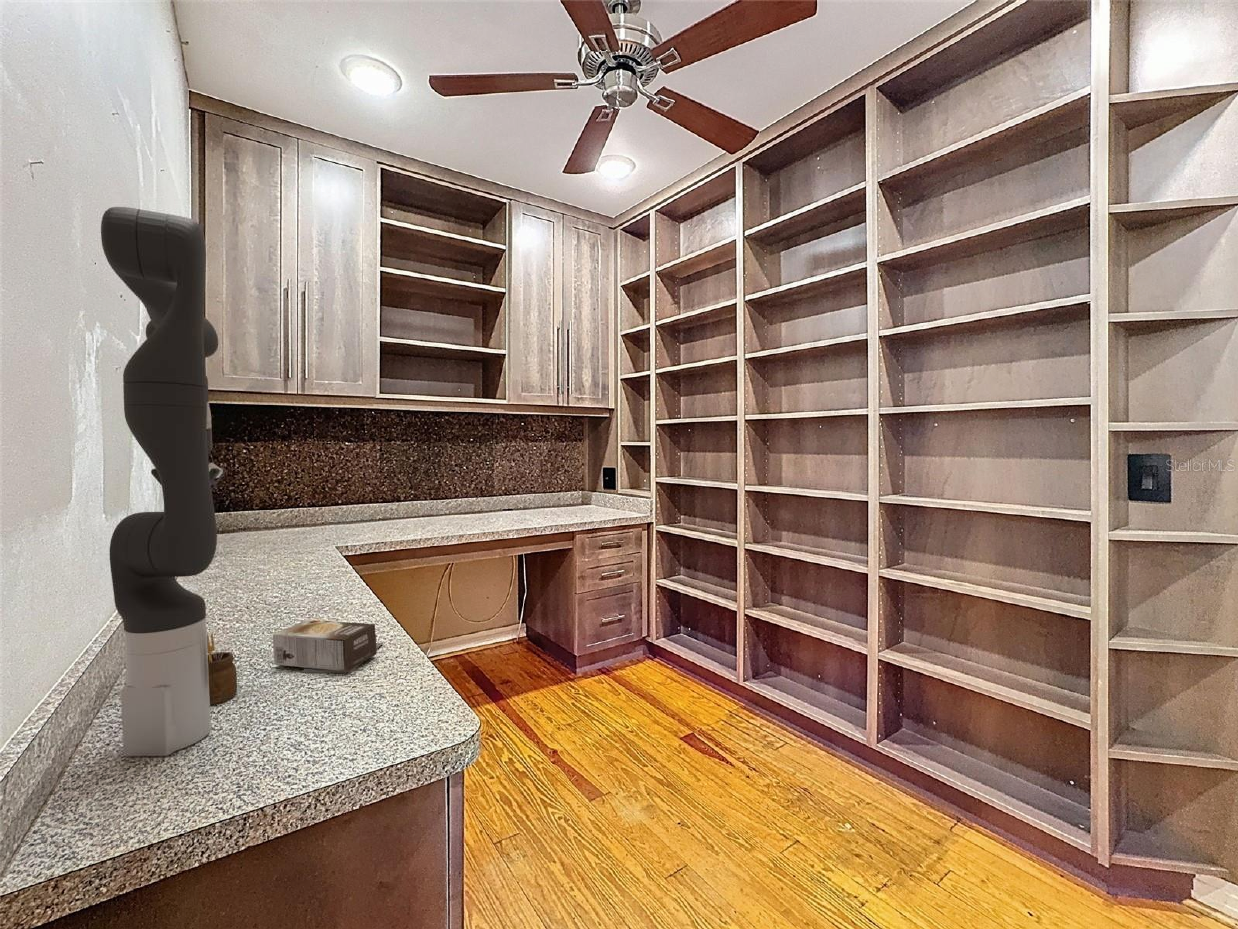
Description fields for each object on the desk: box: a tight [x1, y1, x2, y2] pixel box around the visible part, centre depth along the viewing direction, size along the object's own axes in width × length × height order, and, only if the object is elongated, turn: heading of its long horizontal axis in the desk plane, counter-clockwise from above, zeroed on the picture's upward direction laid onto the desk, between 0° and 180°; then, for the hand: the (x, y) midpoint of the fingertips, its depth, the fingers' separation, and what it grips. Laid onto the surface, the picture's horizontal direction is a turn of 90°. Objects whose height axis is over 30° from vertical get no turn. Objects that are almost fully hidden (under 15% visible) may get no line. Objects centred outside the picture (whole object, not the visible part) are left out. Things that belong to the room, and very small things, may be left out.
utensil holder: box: [207, 629, 238, 706], centre depth 94 cm, size 6×6×12 cm
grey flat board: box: [302, 642, 384, 674], centre depth 111 cm, size 14×9×1 cm, turn 0°
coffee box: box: [272, 619, 378, 671], centre depth 109 cm, size 9×6×16 cm
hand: (190, 517), depth 106 cm, fingers closed
